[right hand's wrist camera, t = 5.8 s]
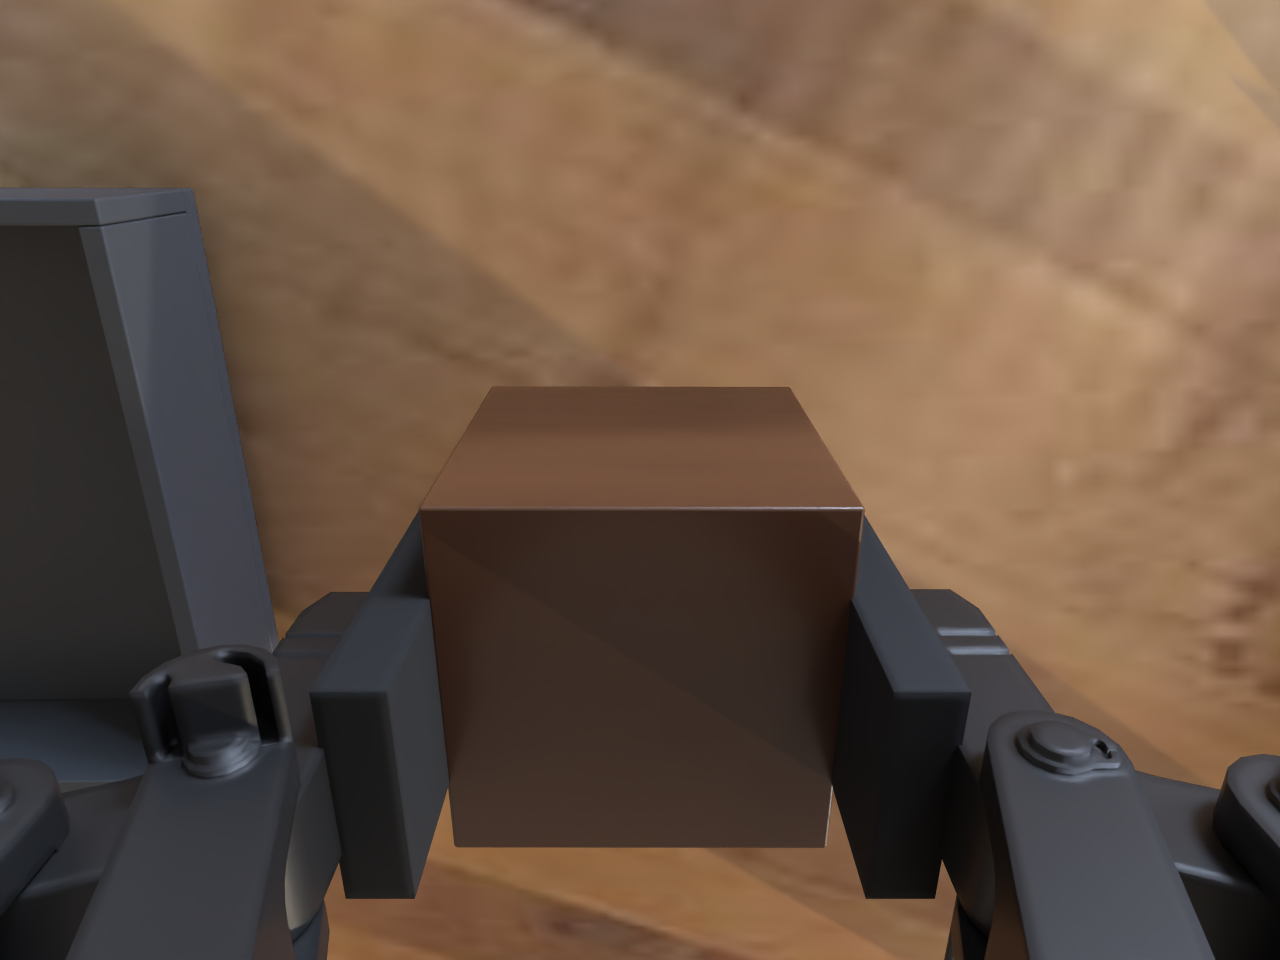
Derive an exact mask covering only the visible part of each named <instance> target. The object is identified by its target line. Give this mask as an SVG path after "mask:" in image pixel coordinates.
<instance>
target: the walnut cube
mask: <svg viewBox="0 0 1280 960" xmlns="http://www.w3.org/2000/svg"><path fill="white" fill-rule="evenodd" d="M864 512H865V510H864V507H863V505H862V504H861V502H860V500H859V499H858V497H857V496H856V494H855V492H854V491H853V489H852V487H851V486H850V484H849V483H848V481H847V479H846V478H845V476H844V475H843V473H842V471H841V470H840V468H839V466H838V465H837V463H836V462H835V460H834V458H833V457H832V455H831V453H830V452H829V450H828V449H827V447H826V445H825V444H824V442H823V440H822V439H821V437H820V436H819V434H818V432H817V431H816V429H815V428H814V426H813V424H812V423H811V421H810V419H809V418H808V416H807V415H806V413H805V411H804V410H803V408H802V406H801V405H800V403H799V402H798V400H797V398H796V397H795V395H794V393H793V392H792V390H791V389H790V388H789V387H492V388H491V389H490V391H489V393H488V394H487V396H486V398H485V399H484V401H483V403H482V404H481V406H480V407H479V409H478V411H477V412H476V414H475V416H474V417H473V419H472V421H471V422H470V424H469V426H468V427H467V429H466V431H465V432H464V434H463V436H462V437H461V439H460V441H459V442H458V444H457V446H456V447H455V449H454V451H453V452H452V454H451V455H450V457H449V459H448V460H447V462H446V464H445V465H444V467H443V469H442V470H441V472H440V474H439V475H438V477H437V479H436V480H435V482H434V484H433V485H432V487H431V489H430V490H429V492H428V494H427V495H426V497H425V498H424V500H423V502H422V503H421V505H420V507H419V518H420V527H421V536H422V546H423V555H424V564H425V574H426V583H427V593H428V599H430V608H431V617H432V626H433V635H434V644H435V654H436V663H437V672H438V681H439V691H440V700H441V709H442V718H443V728H444V737H445V746H446V755H447V764H448V774H449V785H448V789H449V799H450V808H451V817H452V827H453V836H454V844H455V846H456V847H710V848H824V847H826V845H827V838H828V829H829V820H830V812H831V803H832V794H833V787H832V784H831V779H832V770H833V761H834V752H835V742H836V733H837V724H838V715H839V706H840V697H841V687H842V678H843V669H844V660H845V651H846V642H847V632H848V623H849V614H850V605H851V599H854V598H855V591H856V583H857V574H858V565H859V556H860V547H861V539H862V530H863V521H864Z"/></svg>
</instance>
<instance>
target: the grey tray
mask: <svg viewBox="0 0 1280 960" xmlns="http://www.w3.org/2000/svg"><path fill="white" fill-rule="evenodd" d="M241 644H246V645H251V646H255V647H259V648H264V649H266V650H268V651H269V652H270V653H271V654H272V652H273V651H274V649H275V648H276V647H277V645H278V644H279V640H278V635H277V630H276V625H275V619H274V614H273V609H272V604H271V598H270V593H269V588H268V582H267V577H266V572H265V567H264V561H263V556H262V551H261V545H260V540H259V535H258V530H257V524H256V519H255V514H254V509H253V503H252V498H251V493H250V487H249V482H248V477H247V472H246V466H245V461H244V456H243V450H242V445H241V440H240V435H239V429H238V424H237V419H236V414H235V408H234V403H233V398H232V392H231V387H230V382H229V377H228V371H227V366H226V361H225V355H224V350H223V345H222V340H221V334H220V329H219V324H218V319H217V313H216V308H215V303H214V297H213V292H212V287H211V282H210V276H209V271H208V266H207V260H206V255H205V250H204V245H203V239H202V234H201V229H200V224H199V218H198V213H197V208H196V202H195V197H194V192H193V189H191V188H0V760H3V759H11V758H25V759H32V760H39V761H42V762H43V763H45V764H46V765H47V766H48V767H50V768H51V769H52V770H53V771H54V773H55V776H56V779H57V782H58V785H59V788H60V791H61V793H65V792H69V791H74V790H79V789H83V788H88V787H93V786H98V785H102V784H107V783H112V782H116V781H121V780H125V779H129V778H133V777H136V776H140V775H143V774H144V773H145V770H146V768H147V766H148V761H147V757H146V754H145V750H144V747H143V743H142V739H141V736H140V732H139V728H138V725H137V721H136V718H135V714H134V710H133V707H132V703H131V699H130V696H129V692H130V691H131V690H132V689H133V687H134V686H135V685H136V684H137V683H138V682H139V680H140V679H141V678H142V677H143V676H144V675H146V674H148V673H149V672H151V671H152V670H154V669H155V668H157V667H158V666H160V665H161V664H163V663H164V662H167V661H169V660H171V659H174V658H176V657H179V656H181V655H184V654H186V653H189V652H191V651H195V650H200V649H204V648H209V647H214V646H218V645H241Z"/></svg>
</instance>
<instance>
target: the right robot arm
mask: <svg viewBox="0 0 1280 960" xmlns="http://www.w3.org/2000/svg"><path fill="white" fill-rule="evenodd" d="M129 696H130V699H131V703H132V707H133V710H134V714H135V718H136V721H137V725H138V728H139V732H140V736H141V739H142V743H143V747H144V750H145V754H146V757H147V761H148V766H147V768H146V770H145V773H144V774H143V775H140V776H136V777H133V778H129V779H125V780H121V781H116V782H112V783H107V784H102V785H98V786H93V787H88V788H83V789H79V790H74V791H69V792H65V793H61V791H60V788H59V785H58V782H57V779H56V776H55V773H54V771H53V770H52V769H51V768H50V767H48V766H47V765H46V764H45V763H43V762H42V761H39V760H32V759H25V758H11V759H3V760H0V960H327V951H328V941H329V925H328V918H327V912H326V907H325V902H324V896H325V894H326V892H327V889H328V887H329V885H330V882H331V880H332V877H333V875H334V873H335V870H336V868H337V865H338V863H340V869H341V875H342V880H343V886H344V891H345V897H346V899H415V896H416V892H417V889H418V886H419V882H420V879H421V876H422V872H423V869H424V866H425V862H426V859H427V856H428V852H429V849H430V846H431V842H432V839H433V836H434V832H435V829H436V826H437V822H438V819H439V815H440V812H441V809H442V805H443V802H444V799H445V795H446V792H447V789H448V785H449V774H448V764H447V755H446V746H445V737H444V728H443V718H442V709H441V700H440V691H439V681H438V672H437V663H436V654H435V644H434V635H433V626H432V617H431V608H430V599H428V593H427V583H426V574H425V564H424V555H423V546H422V536H421V527H420V518H419V511H418V513H417V514H416V516H415V518H414V519H413V521H412V523H411V524H410V526H409V528H408V529H407V531H406V533H405V534H404V536H403V538H402V539H401V541H400V542H399V544H398V546H397V547H396V549H395V551H394V552H393V554H392V556H391V557H390V559H389V561H388V562H387V564H386V566H385V567H384V569H383V571H382V572H381V574H380V576H379V577H378V579H377V581H376V582H375V584H374V585H373V587H372V589H371V590H370V592H330V593H329V594H327V595H326V596H324V597H323V598H321V599H320V600H318V601H317V602H315V603H314V604H312V605H311V606H309V607H308V608H306V609H305V610H303V611H302V612H301V614H300V615H299V616H298V618H297V619H296V620H295V622H294V623H293V625H292V626H291V627H290V629H289V630H288V631H287V633H286V638H282V640H281V641H280V642H279V644H278V645H277V647H276V648H275V649H274V651H273V652H272V654H271V653H270V652H269V651H268V650H266V649H264V648H259V647H255V646H251V645H246V644H241V645H218V646H214V647H209V648H204V649H200V650H195V651H191V652H189V653H186V654H184V655H181V656H179V657H176V658H174V659H171V660H169V661H167V662H164V663H163V664H161V665H160V666H158V667H157V668H155V669H154V670H152V671H151V672H149V673H148V674H146V675H144V676H143V677H142V678H141V679H140V680H139V682H138V683H137V684H136V685H135V686H134V687H133V689H132V690H131V691H130V692H129ZM831 784H832V787H833V790H834V794H835V797H836V800H837V804H838V807H839V810H840V814H841V817H842V820H843V824H844V827H845V830H846V834H847V837H848V840H849V844H850V847H851V850H852V854H853V857H854V860H855V864H856V867H857V871H858V874H859V877H860V881H861V884H862V887H863V891H864V894H865V897H866V899H935V895H936V889H937V884H938V878H939V872H940V867H941V861H942V860H943V862H944V865H945V867H946V869H947V872H948V874H949V876H950V879H951V881H952V884H953V886H954V888H955V891H956V893H957V896H956V902H955V907H954V912H953V917H952V923H951V928H950V933H949V938H948V943H947V949H946V954H945V959H944V960H1280V756H1275V755H1267V754H1261V755H1254V756H1247V757H1241V758H1239V759H1238V760H1237V761H1236V762H1234V763H1233V764H1232V765H1230V766H1229V767H1228V769H1227V772H1226V775H1225V778H1224V781H1223V784H1222V787H1221V790H1219V789H1214V788H1209V787H1204V786H1200V785H1195V784H1190V783H1186V782H1181V781H1176V780H1171V779H1167V778H1162V777H1157V776H1154V775H1150V774H1146V773H1143V772H1139V771H1136V770H1135V769H1134V766H1133V764H1132V762H1131V761H1130V759H1129V758H1128V757H1127V755H1126V754H1125V752H1124V751H1123V750H1122V748H1121V747H1120V745H1118V744H1117V743H1116V742H1114V741H1113V740H1112V739H1111V738H1109V737H1108V736H1107V735H1105V734H1104V733H1103V732H1101V731H1100V730H1099V729H1097V728H1094V727H1092V726H1090V725H1088V724H1086V723H1084V722H1081V721H1079V720H1077V719H1075V718H1073V717H1069V716H1065V715H1061V714H1057V713H1055V712H1054V711H1053V709H1052V708H1051V707H1050V705H1049V704H1048V703H1047V701H1046V700H1045V698H1044V697H1043V696H1042V694H1041V693H1040V692H1039V690H1038V689H1037V687H1036V686H1035V685H1034V683H1033V682H1032V681H1031V679H1030V678H1029V676H1028V675H1027V674H1026V672H1025V671H1024V670H1023V668H1022V667H1021V666H1020V664H1019V663H1018V661H1017V660H1016V659H1015V657H1014V656H1013V655H1012V654H1009V649H1008V648H1007V646H1006V645H1005V644H1004V642H1003V641H1002V640H1001V638H1000V637H999V636H996V635H995V630H994V629H993V627H992V626H991V624H990V623H989V622H988V620H987V619H986V618H985V616H984V615H983V613H982V612H981V611H980V609H979V608H977V607H976V606H974V605H973V604H971V603H970V602H968V601H967V600H965V599H964V598H962V597H961V596H959V595H958V594H956V593H955V592H953V591H952V590H950V589H909V588H908V586H907V585H906V583H905V581H904V580H903V578H902V576H901V575H900V573H899V571H898V570H897V568H896V566H895V565H894V563H893V561H892V560H891V558H890V556H889V555H888V553H887V551H886V550H885V548H884V547H883V545H882V543H881V542H880V540H879V538H878V537H877V535H876V533H875V532H874V530H873V528H872V527H871V525H870V523H869V522H868V520H867V518H866V517H865V515H864V521H863V530H862V539H861V547H860V556H859V565H858V574H857V583H856V591H855V598H854V599H851V605H850V614H849V623H848V632H847V642H846V651H845V660H844V669H843V678H842V687H841V697H840V706H839V715H838V724H837V733H836V742H835V752H834V761H833V770H832V779H831Z"/></svg>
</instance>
